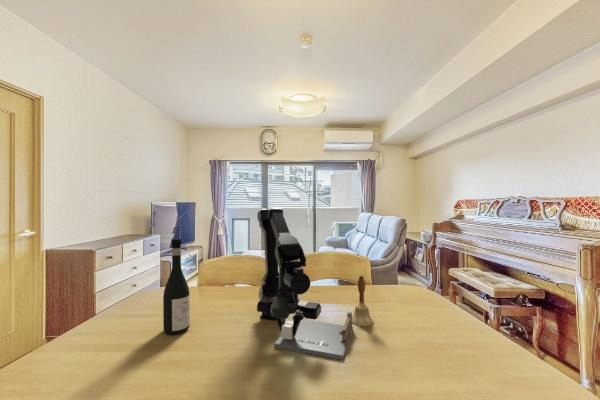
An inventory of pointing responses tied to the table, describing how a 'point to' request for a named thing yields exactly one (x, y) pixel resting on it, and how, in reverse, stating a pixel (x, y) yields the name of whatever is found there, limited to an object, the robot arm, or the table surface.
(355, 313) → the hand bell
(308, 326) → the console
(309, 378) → the table surface
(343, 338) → the door
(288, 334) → the fader
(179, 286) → the wine bottle
